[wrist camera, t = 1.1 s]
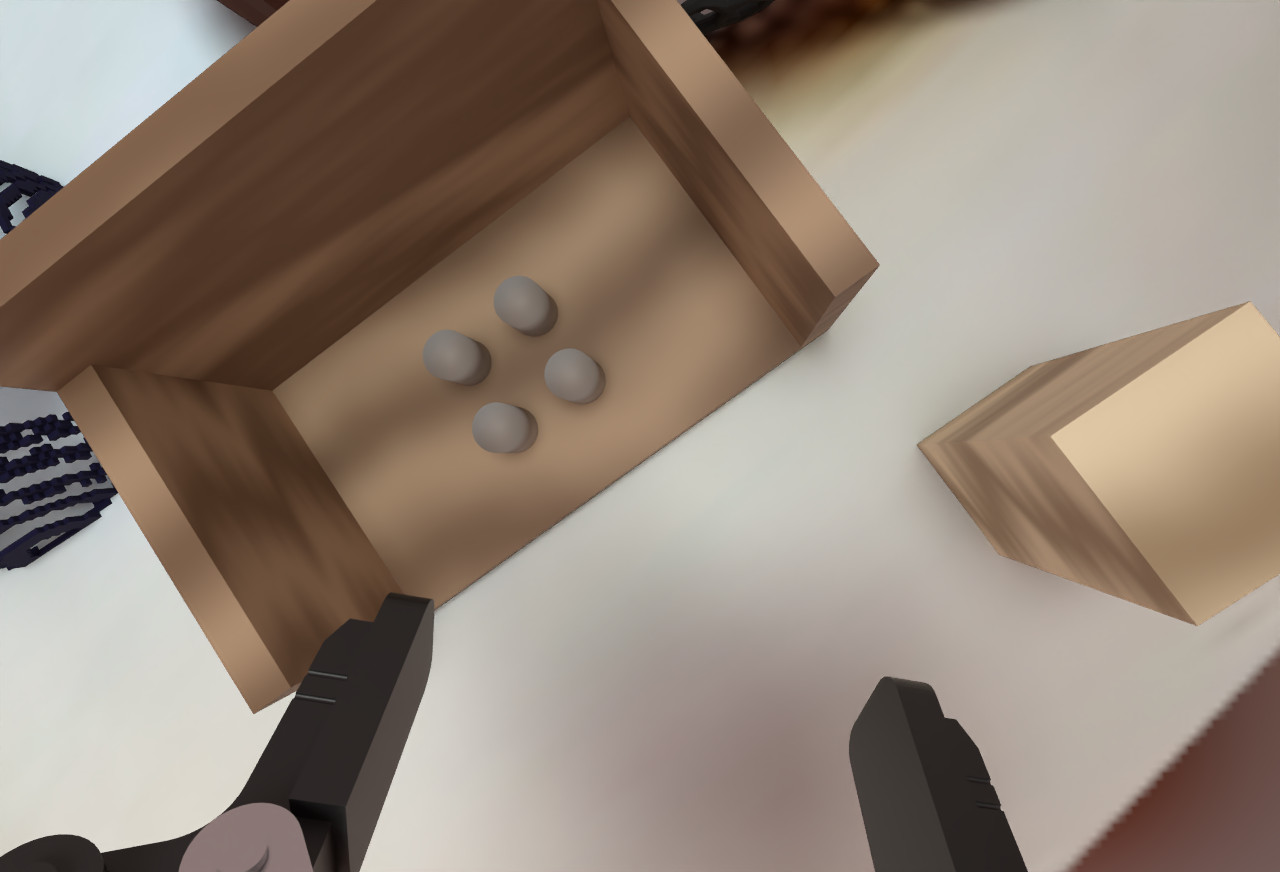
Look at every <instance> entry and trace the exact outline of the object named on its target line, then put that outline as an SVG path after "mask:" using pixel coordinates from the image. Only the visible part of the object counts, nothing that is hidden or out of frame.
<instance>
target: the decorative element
mask: <svg viewBox="0 0 1280 872" xmlns="http://www.w3.org/2000/svg"><path fill="white" fill-rule="evenodd" d="M773 1H775V0H687V1H685V2H684V3H682V4H681V7H682V8H683V9H684V11H685V12H686V13H687V14H688V16H689V17H690V18H691V20H692V21H693V22H694V24H695V25H696V26H697V27H698V29H699V30H700V31H701V33H702V34H703V35H705V34H707V33H710V32H712V31H715V30H717V29H720V28H722V27H725V26H728V25H731V24H734V23H737V22H740V21H742V20H744V19H746V18H748V17H750V16H752V15H754V14H756V13H758V12H760V11H761V10H763V9H764V8H766V7H767V6H769V5H770V4H771V3H772V2H773ZM705 9H709V10H712V11H713V12H711V13H708V14H706V15H703V14H701V13H700V12H701V11H703V10H705Z"/></svg>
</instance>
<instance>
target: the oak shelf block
mask: <svg viewBox="0 0 1280 872" xmlns="http://www.w3.org/2000/svg"><path fill="white" fill-rule="evenodd" d="M917 446H918V447H919V448H920V450H921V451H922V452H923V454H924V455H925V456H926V458H927V459H928V460H929V462H930V463H931V464H932V466H933V467H934V468H935V470H936V471H937V472H938V474H939V475H940V476H941V478H942V479H943V480H944V482H945V483H946V484H947V486H948V487H949V488H950V490H951V491H952V492H953V494H954V495H955V496H956V498H957V499H958V500H959V502H960V503H961V504H962V506H963V507H964V508H965V510H966V511H967V512H968V514H969V515H970V516H971V518H972V519H973V520H974V522H975V523H976V524H977V526H978V527H979V528H980V530H981V531H982V532H983V534H984V535H985V536H986V538H987V539H988V540H989V542H990V543H991V544H992V546H993V547H994V548H995V550H996V551H997V552H998V554H999V555H1002V556H1005V557H1008V558H1010V559H1013V560H1016V561H1019V562H1021V563H1024V564H1027V565H1030V566H1032V567H1035V568H1038V569H1041V570H1044V571H1046V572H1049V573H1052V574H1055V575H1057V576H1060V577H1063V578H1066V579H1068V580H1071V581H1074V582H1077V583H1080V584H1082V585H1085V586H1088V587H1091V588H1093V589H1096V590H1099V591H1102V592H1104V593H1107V594H1110V595H1113V596H1116V597H1118V598H1121V599H1124V600H1127V601H1129V602H1132V603H1135V604H1138V605H1140V606H1143V607H1146V608H1149V609H1152V610H1154V611H1157V612H1160V613H1163V614H1165V615H1168V616H1171V617H1174V618H1176V619H1179V620H1182V621H1185V622H1188V623H1190V624H1193V625H1196V626H1198V625H1200V624H1202V623H1203V622H1205V621H1206V620H1208V619H1209V618H1211V617H1213V616H1214V615H1216V614H1217V613H1219V612H1220V611H1222V610H1224V609H1225V608H1227V607H1228V606H1230V605H1231V604H1233V603H1235V602H1236V601H1238V600H1239V599H1241V598H1242V597H1244V596H1246V595H1247V594H1249V593H1250V592H1252V591H1253V590H1255V589H1257V588H1258V587H1260V586H1261V585H1263V584H1264V583H1266V582H1268V581H1269V580H1271V579H1272V578H1274V577H1276V576H1277V575H1279V574H1280V337H1279V335H1278V334H1277V333H1276V332H1275V331H1274V329H1273V328H1272V327H1271V326H1270V325H1269V323H1268V322H1267V321H1266V320H1265V319H1264V317H1263V316H1262V315H1261V314H1260V312H1259V311H1258V310H1257V309H1256V308H1255V306H1254V305H1253V304H1252V303H1251V302H1246V303H1243V304H1240V305H1236V306H1233V307H1229V308H1226V309H1223V310H1219V311H1216V312H1213V313H1209V314H1206V315H1202V316H1199V317H1196V318H1192V319H1189V320H1186V321H1182V322H1179V323H1175V324H1172V325H1169V326H1165V327H1162V328H1159V329H1155V330H1152V331H1148V332H1145V333H1142V334H1138V335H1135V336H1131V337H1128V338H1125V339H1121V340H1118V341H1115V342H1111V343H1108V344H1104V345H1101V346H1098V347H1094V348H1091V349H1088V350H1084V351H1081V352H1077V353H1074V354H1071V355H1067V356H1064V357H1061V358H1057V359H1054V360H1050V361H1047V362H1044V363H1040V364H1037V365H1034V366H1030V367H1029V368H1027V369H1026V370H1024V371H1023V372H1021V373H1020V374H1019V375H1017V376H1016V377H1014V378H1013V379H1011V380H1010V381H1008V382H1007V383H1005V384H1004V385H1003V386H1001V387H1000V388H998V389H997V390H995V391H994V392H992V393H991V394H989V395H988V396H987V397H985V398H984V399H982V400H981V401H979V402H978V403H976V404H975V405H973V406H972V407H971V408H969V409H968V410H966V411H965V412H963V413H962V414H960V415H959V416H957V417H956V418H955V419H953V420H952V421H950V422H949V423H947V424H946V425H944V426H943V427H941V428H940V429H939V430H937V431H936V432H934V433H933V434H931V435H930V436H928V437H927V438H925V439H924V440H923V441H921V442H920V443H918V444H917Z"/></svg>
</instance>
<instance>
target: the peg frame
mask: <svg viewBox="0 0 1280 872" xmlns="http://www.w3.org/2000/svg"><path fill="white" fill-rule="evenodd" d="M879 265H880V264H879V263H878V262H877V261H876V259H875V258H874V257H873V255H872V254H871V253H870V251H869V250H868V249H867V248H866V246H865V245H864V244H863V242H862V241H861V240H860V238H859V237H858V236H857V234H856V233H855V232H854V231H853V229H852V228H851V227H850V225H849V224H848V223H847V221H846V220H845V219H844V218H843V216H842V215H841V214H840V212H839V211H838V210H837V208H836V207H835V206H834V205H833V203H832V202H831V201H830V199H829V198H828V197H827V195H826V194H825V193H824V192H823V190H822V189H821V188H820V186H819V185H818V184H817V182H816V181H815V180H814V179H813V177H812V176H811V175H810V173H809V172H808V171H807V169H806V168H805V167H804V165H803V164H802V163H801V162H800V160H799V159H798V158H797V156H796V155H795V154H794V152H793V151H792V150H791V149H790V147H789V146H788V145H787V143H786V142H785V141H784V139H783V138H782V137H781V136H780V134H779V133H778V132H777V130H776V129H775V128H774V126H773V125H772V124H771V123H770V121H769V120H768V119H767V117H766V116H765V115H764V113H763V112H762V111H761V110H760V108H759V107H758V106H757V104H756V103H755V102H754V100H753V99H752V98H751V96H750V95H749V94H748V93H747V91H746V90H745V89H744V87H743V86H742V85H741V83H740V82H739V81H738V80H737V78H736V77H735V76H734V74H733V73H732V72H731V70H730V69H729V68H728V67H727V65H726V64H725V63H724V61H723V60H722V59H721V57H720V56H719V55H718V54H717V52H716V51H715V50H714V48H713V47H712V46H711V44H710V43H709V42H708V41H707V39H706V38H705V37H704V35H703V34H702V33H701V31H700V30H699V29H698V27H697V26H696V25H695V24H694V22H693V21H692V20H691V18H690V17H689V16H688V14H687V13H686V12H685V11H684V9H683V8H682V7H681V5H680V4H679V3H678V1H677V0H290V1H288V2H287V3H286V4H285V5H284V6H282V7H281V8H280V9H279V10H277V11H276V12H275V13H274V14H273V15H271V16H270V17H269V18H268V19H267V20H265V21H264V22H263V23H262V24H261V25H259V26H258V27H257V28H256V29H255V30H253V31H252V32H251V33H250V34H248V35H247V36H246V37H245V38H244V39H242V40H241V41H240V42H239V43H238V44H236V45H235V46H234V47H233V48H232V49H230V50H229V51H228V52H227V53H226V54H224V55H223V56H222V57H221V58H219V59H218V60H217V61H216V62H215V63H213V64H212V65H211V66H210V67H209V68H207V69H206V70H205V71H204V72H203V73H201V74H200V75H199V76H198V77H196V78H195V79H194V80H193V81H192V82H190V83H189V84H188V85H187V86H186V87H184V88H183V89H182V90H181V91H180V92H178V93H177V94H176V95H175V96H174V97H172V98H171V99H170V100H169V101H167V102H166V103H165V104H164V105H163V106H161V107H160V108H159V109H158V110H157V111H155V112H154V113H153V114H152V115H151V116H149V117H148V118H147V119H146V120H145V121H143V122H142V123H141V124H140V125H138V126H137V127H136V128H135V129H134V130H132V131H131V132H130V133H129V134H128V135H126V136H125V137H124V138H123V139H122V140H120V141H119V142H118V143H117V144H115V145H114V146H113V147H112V148H111V149H109V150H108V151H107V152H106V153H105V154H103V155H102V156H101V157H100V158H99V159H97V160H96V161H95V162H94V163H93V164H91V165H90V166H89V167H88V168H86V169H85V170H84V171H83V172H82V173H80V174H79V175H78V176H77V177H76V178H74V179H73V180H72V181H71V182H70V183H68V184H67V185H66V186H65V187H64V188H62V189H61V190H60V191H59V192H57V193H56V194H55V195H54V196H53V197H51V198H50V199H49V200H48V201H47V202H45V203H44V204H43V205H42V206H41V207H39V208H38V209H37V210H36V211H34V212H33V213H32V214H31V215H30V216H28V217H27V218H26V219H25V220H24V221H22V222H21V223H20V224H19V225H18V226H16V227H15V228H14V229H13V230H12V231H10V232H9V233H8V234H7V235H5V236H4V237H3V238H2V239H1V240H0V386H1V387H12V388H22V389H33V390H43V391H53V392H57V393H58V395H59V396H60V398H61V400H62V401H63V403H64V404H65V406H66V408H67V409H68V411H69V413H70V414H71V416H72V418H73V419H74V421H75V422H76V424H77V426H78V427H79V429H80V431H81V432H82V434H83V436H84V437H85V439H86V440H87V442H88V444H89V445H90V447H91V449H92V450H93V452H94V454H95V455H96V457H97V458H98V460H99V462H100V463H101V465H102V467H103V468H104V470H105V472H106V473H107V475H108V477H109V478H110V480H111V481H112V483H113V485H114V486H115V488H116V490H117V491H118V493H119V495H120V496H121V498H122V499H123V501H124V503H125V504H126V506H127V508H128V509H129V511H130V513H131V514H132V516H133V517H134V519H135V521H136V522H137V524H138V526H139V527H140V529H141V531H142V532H143V534H144V535H145V537H146V539H147V540H148V542H149V544H150V545H151V547H152V549H153V550H154V552H155V554H156V555H157V557H158V558H159V560H160V562H161V563H162V565H163V567H164V568H165V570H166V572H167V573H168V575H169V576H170V578H171V580H172V581H173V583H174V585H175V586H176V588H177V590H178V591H179V593H180V594H181V596H182V598H183V599H184V601H185V603H186V604H187V606H188V608H189V609H190V611H191V613H192V614H193V616H194V617H195V619H196V621H197V622H198V624H199V626H200V627H201V629H202V631H203V632H204V634H205V635H206V637H207V639H208V640H209V642H210V644H211V645H212V647H213V649H214V650H215V652H216V653H217V655H218V657H219V658H220V660H221V662H222V663H223V665H224V667H225V668H226V670H227V671H228V673H229V675H230V676H231V678H232V680H233V681H234V683H235V685H236V686H237V688H238V690H239V691H240V693H241V694H242V696H243V698H244V699H245V701H246V703H247V704H248V706H249V708H250V709H251V711H252V712H253V714H255V713H257V712H258V711H260V710H262V709H264V708H266V707H268V706H269V705H271V704H273V703H275V702H277V701H279V700H280V699H282V698H284V697H286V696H288V695H290V694H291V693H293V692H295V691H297V690H298V688H299V686H300V684H301V682H302V680H303V679H304V677H305V675H307V674H308V671H309V668H310V666H311V664H312V662H313V660H314V658H315V657H316V655H317V653H318V651H319V649H320V647H321V646H322V644H323V642H324V640H326V639H327V638H328V637H329V636H330V635H331V634H333V633H334V632H335V631H336V630H337V629H338V628H339V627H341V626H342V625H343V624H344V623H345V622H346V621H348V620H349V619H356V620H363V621H369V622H374V620H375V618H376V616H377V614H378V612H379V610H380V608H381V605H382V603H383V601H384V599H385V598H386V596H387V595H388V594H389V593H390V592H394V593H400V594H406V595H412V596H418V597H424V598H430V599H433V600H434V610H436V609H437V608H439V607H440V606H441V605H443V604H444V603H446V602H447V601H448V600H450V599H451V598H453V597H454V596H455V595H457V594H458V593H460V592H461V591H462V590H464V589H465V588H467V587H468V586H469V585H471V584H472V583H474V582H475V581H476V580H478V579H479V578H481V577H482V576H483V575H485V574H486V573H488V572H489V571H491V570H492V569H493V568H495V567H496V566H498V565H499V564H500V563H502V562H503V561H505V560H506V559H507V558H509V557H510V556H512V555H513V554H514V553H516V552H517V551H519V550H520V549H521V548H523V547H524V546H526V545H527V544H528V543H530V542H531V541H533V540H534V539H535V538H537V537H538V536H540V535H541V534H542V533H544V532H545V531H547V530H548V529H549V528H551V527H552V526H554V525H555V524H556V523H558V522H559V521H561V520H562V519H563V518H565V517H566V516H568V515H569V514H570V513H572V512H573V511H575V510H576V509H577V508H579V507H580V506H582V505H583V504H584V503H586V502H587V501H589V500H590V499H591V498H593V497H594V496H596V495H597V494H598V493H600V492H601V491H603V490H604V489H606V488H607V487H608V486H610V485H611V484H613V483H614V482H615V481H617V480H618V479H620V478H621V477H622V476H624V475H625V474H627V473H628V472H629V471H631V470H632V469H634V468H635V467H636V466H638V465H639V464H641V463H642V462H643V461H645V460H646V459H648V458H649V457H650V456H652V455H653V454H655V453H656V452H657V451H659V450H660V449H662V448H663V447H664V446H666V445H667V444H669V443H670V442H671V441H673V440H674V439H676V438H677V437H678V436H680V435H681V434H683V433H684V432H685V431H687V430H688V429H690V428H691V427H692V426H694V425H695V424H697V423H698V422H699V421H701V420H702V419H704V418H705V417H706V416H708V415H709V414H711V413H712V412H713V411H715V410H716V409H718V408H719V407H720V406H722V405H723V404H725V403H726V402H728V401H729V400H730V399H732V398H733V397H735V396H736V395H737V394H739V393H740V392H742V391H743V390H744V389H746V388H747V387H749V386H750V385H751V384H753V383H754V382H756V381H757V380H758V379H760V378H761V377H763V376H764V375H765V374H767V373H768V372H770V371H771V370H772V369H774V368H775V367H777V366H778V365H779V364H781V363H782V362H784V361H785V360H786V359H788V358H789V357H791V356H792V355H793V354H795V353H796V352H798V351H799V350H800V349H802V348H803V347H805V346H806V345H807V344H809V343H810V342H812V341H813V340H814V339H816V338H817V337H819V336H820V335H821V334H823V333H824V332H826V331H827V330H828V329H829V328H830V327H831V326H832V324H833V323H834V322H835V321H836V319H837V318H838V317H839V316H840V314H841V313H842V312H843V311H844V309H845V308H846V307H847V306H848V304H849V303H850V302H851V301H852V299H853V298H854V297H855V296H856V294H857V293H858V292H859V291H860V289H861V288H862V287H863V286H864V284H865V283H866V282H867V281H868V279H869V278H870V277H871V275H872V274H873V273H874V272H875V270H876V269H877V268H878V267H879Z"/></svg>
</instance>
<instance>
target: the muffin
mask: <svg viewBox="0 0 1280 872" xmlns="http://www.w3.org/2000/svg"><path fill="white" fill-rule="evenodd" d="M217 1H219V2H220V3H222V4H223V5H225V6H226V7H228V8H229V9H231V10H232V11H234V12H235V13H237V14H238V15H240V16H241V17H243V18H244V19H246V20H247V21H249V22H250V23H252V24H254V25H255V26H257V27H258V26H259V25H261V24H262V23H263V22H264V21H265V20H267V19H268V18H269V17H270V16H271V15H273V14H274V13H275V12H276V11H277V10H279V9H280V8H281V7H282V6H284V5H285V4H286V3H287V2H288V1H290V0H217Z"/></svg>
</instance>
